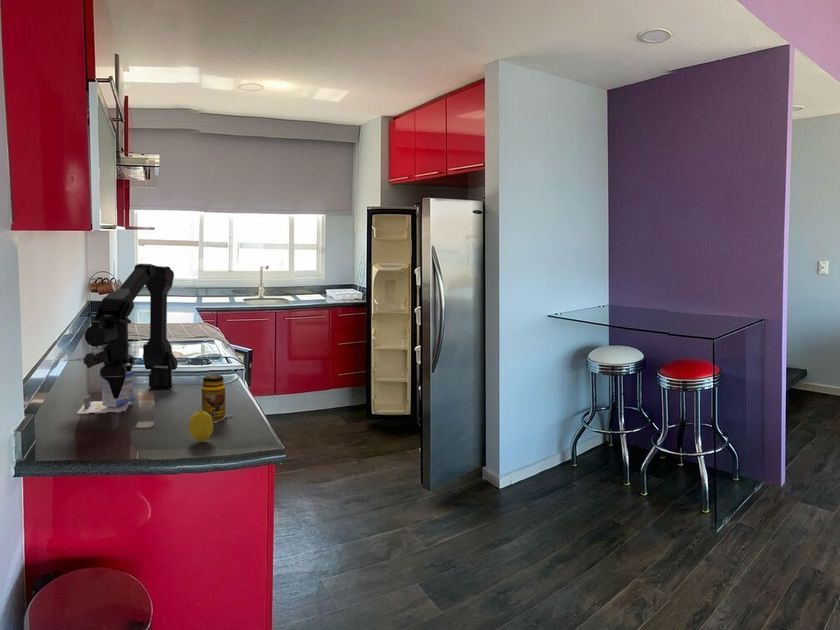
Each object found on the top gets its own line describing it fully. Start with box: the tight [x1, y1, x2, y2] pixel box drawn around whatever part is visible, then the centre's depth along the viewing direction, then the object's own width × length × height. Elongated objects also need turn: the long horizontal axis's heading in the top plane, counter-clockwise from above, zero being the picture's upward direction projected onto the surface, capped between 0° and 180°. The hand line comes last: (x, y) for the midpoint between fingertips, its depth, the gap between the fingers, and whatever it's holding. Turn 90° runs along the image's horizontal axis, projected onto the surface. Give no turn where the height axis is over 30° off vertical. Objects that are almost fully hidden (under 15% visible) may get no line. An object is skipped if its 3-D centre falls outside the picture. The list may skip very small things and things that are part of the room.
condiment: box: [201, 374, 230, 422], centre depth 164 cm, size 7×8×12 cm
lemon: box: [188, 409, 214, 443], centre depth 145 cm, size 6×6×8 cm
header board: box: [76, 394, 131, 415], centre depth 172 cm, size 12×12×3 cm
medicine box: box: [100, 371, 135, 407], centre depth 173 cm, size 8×4×9 cm, turn 169°
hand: (118, 394), depth 173 cm, fingers closed on medicine box, 9 cm apart
